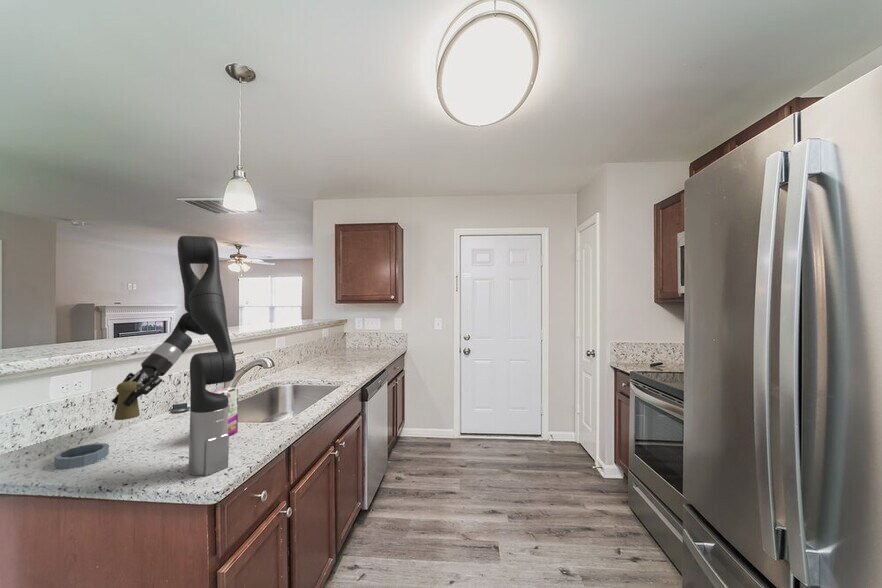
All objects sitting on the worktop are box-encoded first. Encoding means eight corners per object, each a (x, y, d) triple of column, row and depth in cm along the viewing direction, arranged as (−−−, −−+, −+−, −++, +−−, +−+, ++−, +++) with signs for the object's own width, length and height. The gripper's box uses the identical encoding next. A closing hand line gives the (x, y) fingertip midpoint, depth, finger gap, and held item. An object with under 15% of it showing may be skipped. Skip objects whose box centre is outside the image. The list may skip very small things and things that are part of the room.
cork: (124, 420, 106) (124, 384, 106) (108, 419, 107) (109, 383, 108) (144, 414, 112) (145, 380, 112) (130, 413, 113) (130, 379, 114)
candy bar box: (226, 431, 129) (227, 386, 129) (238, 432, 128) (239, 387, 128) (200, 443, 118) (201, 394, 118) (213, 444, 117) (215, 395, 117)
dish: (114, 456, 107) (114, 447, 107) (63, 472, 97) (63, 462, 97) (98, 449, 112) (99, 440, 112) (48, 463, 102) (49, 453, 102)
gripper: (139, 351, 119) (94, 395, 108) (169, 353, 115) (125, 400, 103) (156, 364, 124) (114, 407, 113) (185, 366, 120) (145, 412, 108)
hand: (120, 403), depth 108 cm, fingers closed on cork, 4 cm apart
